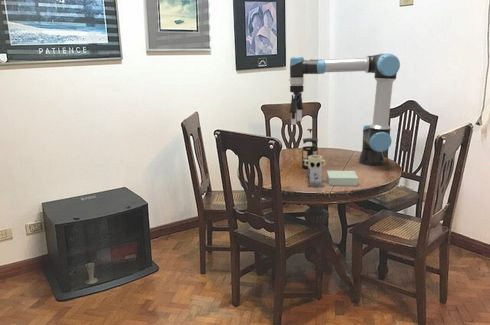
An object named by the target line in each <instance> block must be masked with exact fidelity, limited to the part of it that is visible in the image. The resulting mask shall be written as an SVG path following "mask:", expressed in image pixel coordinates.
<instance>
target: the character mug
mask: <svg viewBox="0 0 490 325" xmlns="http://www.w3.org/2000/svg"><path fill="white" fill-rule="evenodd" d="M304 161H305V163H304V165H305V166H308V168H309V169H310V167H322V168H323V167H325V166H326V159H323V156H322V155H319V154H318V155H317V154H313V155H311V156H308V160H307V159H304ZM306 162H308V164H306ZM322 162H323V163H322ZM308 180H309V181H310V172H309V177H308Z"/></svg>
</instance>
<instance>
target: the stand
mask: <svg viewBox="0 0 490 325" xmlns="http://www.w3.org/2000/svg"><path fill="white" fill-rule="evenodd" d="M326 178H327V182H328V185H329V186H341V187H342V186H344V187H345V186H347V187H350V186H351V187H352V186H354V187H355V186H357V187H358V183H359V182H358V180H359V176H358V175H357V173H356V171H355V170H326Z"/></svg>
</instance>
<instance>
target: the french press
mask: <svg viewBox="0 0 490 325" xmlns="http://www.w3.org/2000/svg"><path fill="white" fill-rule="evenodd" d="M314 130H315V129H313V128H307V129H306V131H309V137H305V138H302V142H303V144H306V143H309V145H306V146H303V147H302V149H301V150H302V151H301V152H302V153H301V155H302V156H301V159H302V160H301V164H302V165H301V169H304V170H308V166H305V165H304V163H305V160H308V156H311V155H314V152H316V155H318V156H319V154H318V153H319V152H318V150H319V149H318V147H317V146H314V145H317V144H318V141H319V139H318V138H312V135H311V134H312V131H314ZM311 143H312V144H314V145H311ZM304 152H306V155H304ZM306 164H308V162H306Z"/></svg>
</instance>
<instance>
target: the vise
mask: <svg viewBox="0 0 490 325" xmlns="http://www.w3.org/2000/svg"><path fill="white" fill-rule="evenodd" d="M309 172H310V180H309V181H307V187H310V188H311V187H312V188H324V187H325V184H324V182H323V180H322V179H323V166H322V167H310V169H309V168H308V169H307V172H305V178H309Z"/></svg>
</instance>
